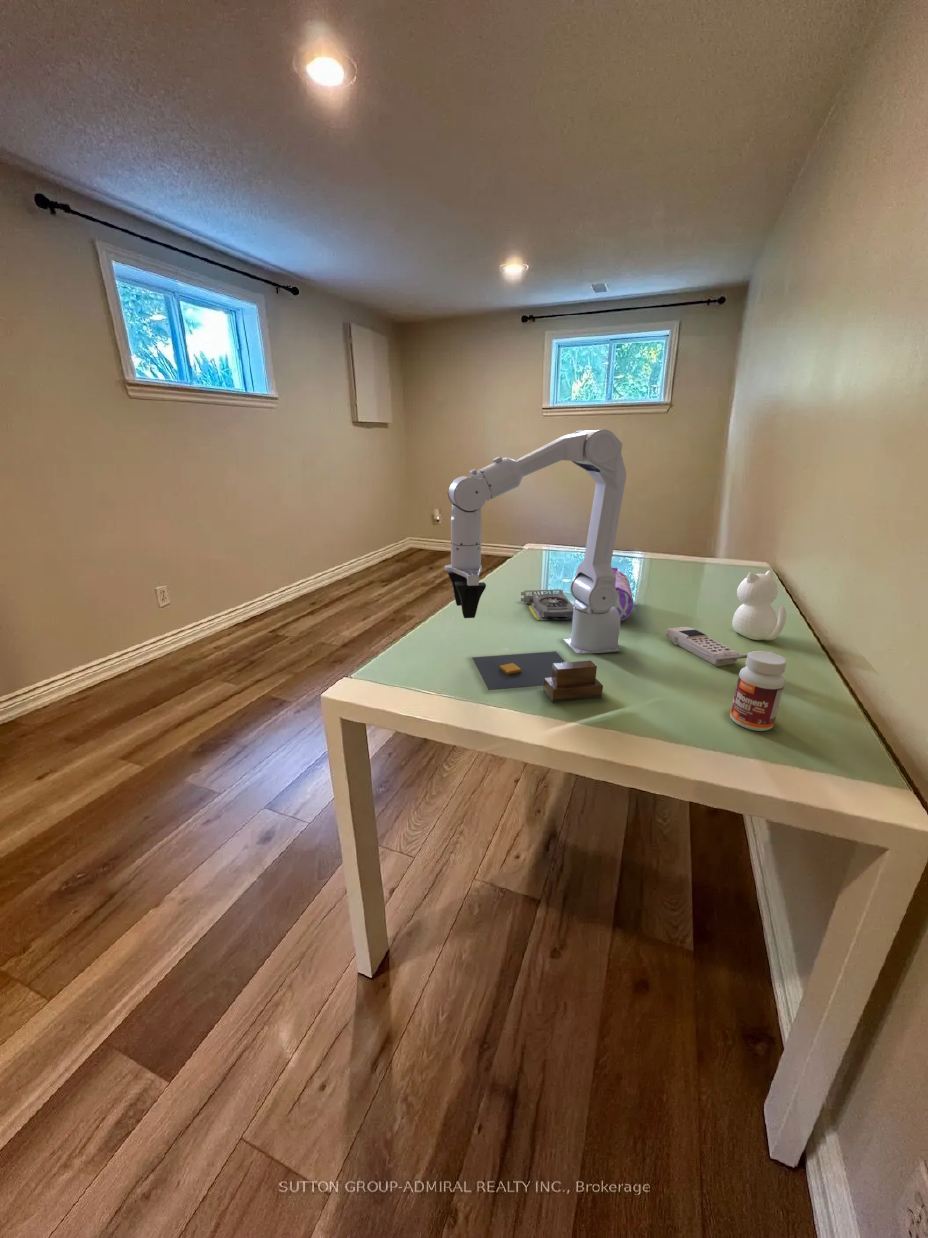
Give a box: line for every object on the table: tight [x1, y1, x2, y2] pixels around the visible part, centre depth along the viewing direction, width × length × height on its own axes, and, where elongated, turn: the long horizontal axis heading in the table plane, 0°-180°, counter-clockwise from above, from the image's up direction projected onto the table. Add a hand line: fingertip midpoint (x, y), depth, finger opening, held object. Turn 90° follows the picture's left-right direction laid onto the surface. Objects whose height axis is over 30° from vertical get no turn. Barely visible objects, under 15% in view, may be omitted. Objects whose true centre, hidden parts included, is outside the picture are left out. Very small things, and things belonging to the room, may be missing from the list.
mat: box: [471, 651, 566, 691], centre depth 95 cm, size 18×14×1 cm
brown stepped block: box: [542, 659, 604, 704], centre depth 84 cm, size 9×4×6 cm, turn 101°
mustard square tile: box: [500, 663, 521, 674], centre depth 94 cm, size 3×3×1 cm
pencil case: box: [612, 567, 634, 622], centre depth 128 cm, size 22×9×9 cm, turn 167°
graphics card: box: [520, 588, 574, 621], centre depth 128 cm, size 17×4×12 cm
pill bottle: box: [729, 650, 787, 732], centre depth 76 cm, size 6×6×11 cm
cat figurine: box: [731, 569, 787, 641], centre depth 110 cm, size 9×12×15 cm
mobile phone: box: [665, 626, 776, 667], centre depth 101 cm, size 6×6×25 cm
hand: (465, 611), depth 97 cm, fingers open, 7 cm apart
